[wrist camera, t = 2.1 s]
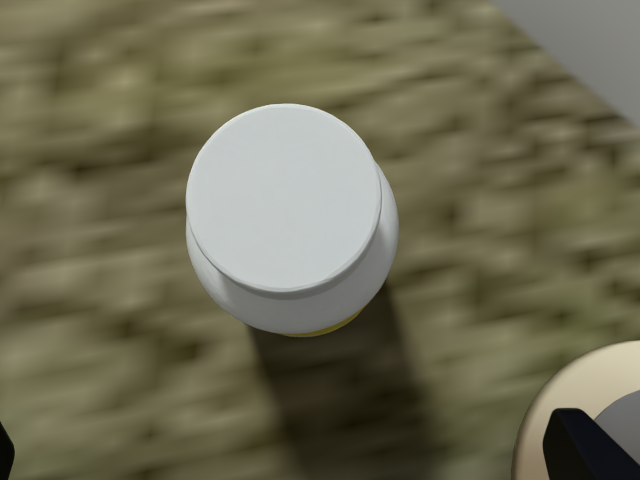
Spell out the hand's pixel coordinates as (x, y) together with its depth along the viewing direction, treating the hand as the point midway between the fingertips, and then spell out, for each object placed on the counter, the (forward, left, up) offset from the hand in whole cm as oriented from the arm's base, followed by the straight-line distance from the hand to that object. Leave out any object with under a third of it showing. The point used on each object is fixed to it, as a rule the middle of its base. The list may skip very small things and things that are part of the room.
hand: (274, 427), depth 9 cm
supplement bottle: (+4, 0, -11) cm, 12 cm away
